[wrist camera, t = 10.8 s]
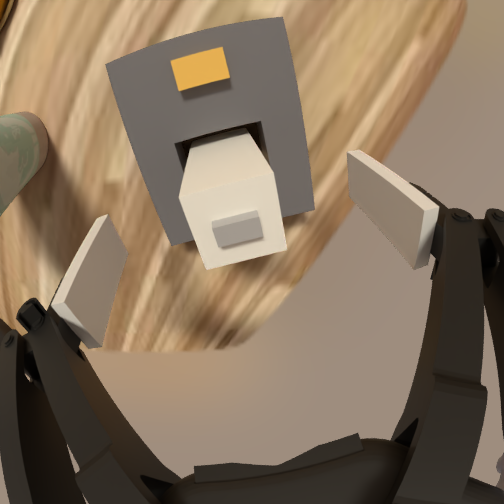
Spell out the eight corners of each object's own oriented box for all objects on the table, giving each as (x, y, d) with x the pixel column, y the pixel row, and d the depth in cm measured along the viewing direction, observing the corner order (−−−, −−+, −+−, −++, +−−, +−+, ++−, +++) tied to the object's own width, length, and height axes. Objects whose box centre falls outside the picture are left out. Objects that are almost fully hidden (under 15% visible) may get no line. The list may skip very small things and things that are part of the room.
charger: (206, 188, 22) (206, 278, 13) (192, 141, 19) (177, 203, 11) (256, 175, 22) (290, 257, 13) (245, 127, 19) (276, 177, 11)
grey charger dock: (175, 225, 23) (170, 252, 20) (119, 65, 15) (100, 64, 12) (303, 193, 23) (318, 214, 20) (272, 24, 15) (285, 14, 12)
